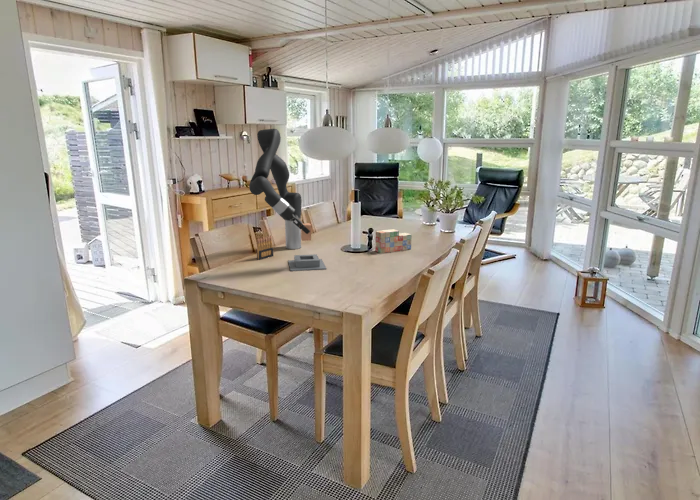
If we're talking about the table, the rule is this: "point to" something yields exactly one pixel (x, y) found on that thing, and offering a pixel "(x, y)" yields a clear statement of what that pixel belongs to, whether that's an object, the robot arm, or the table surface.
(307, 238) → the block
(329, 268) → the table surface
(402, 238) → the stack of blocks
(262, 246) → the ammunition clip
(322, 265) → the socket
